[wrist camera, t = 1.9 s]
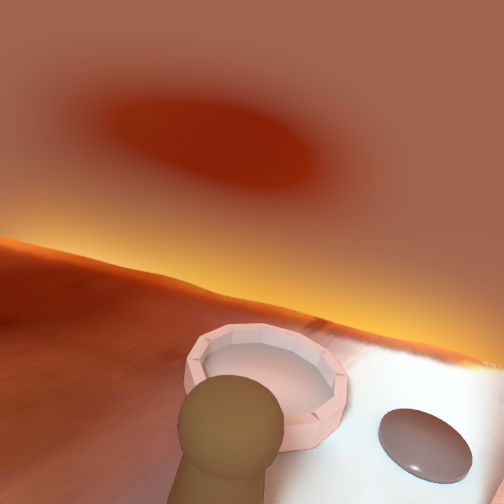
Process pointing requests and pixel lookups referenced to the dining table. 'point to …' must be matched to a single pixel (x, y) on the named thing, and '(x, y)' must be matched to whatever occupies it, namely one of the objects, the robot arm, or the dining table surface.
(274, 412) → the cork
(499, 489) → the canister
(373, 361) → the dining table surface
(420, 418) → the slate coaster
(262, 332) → the pink flat ring
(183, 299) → the dining table surface
